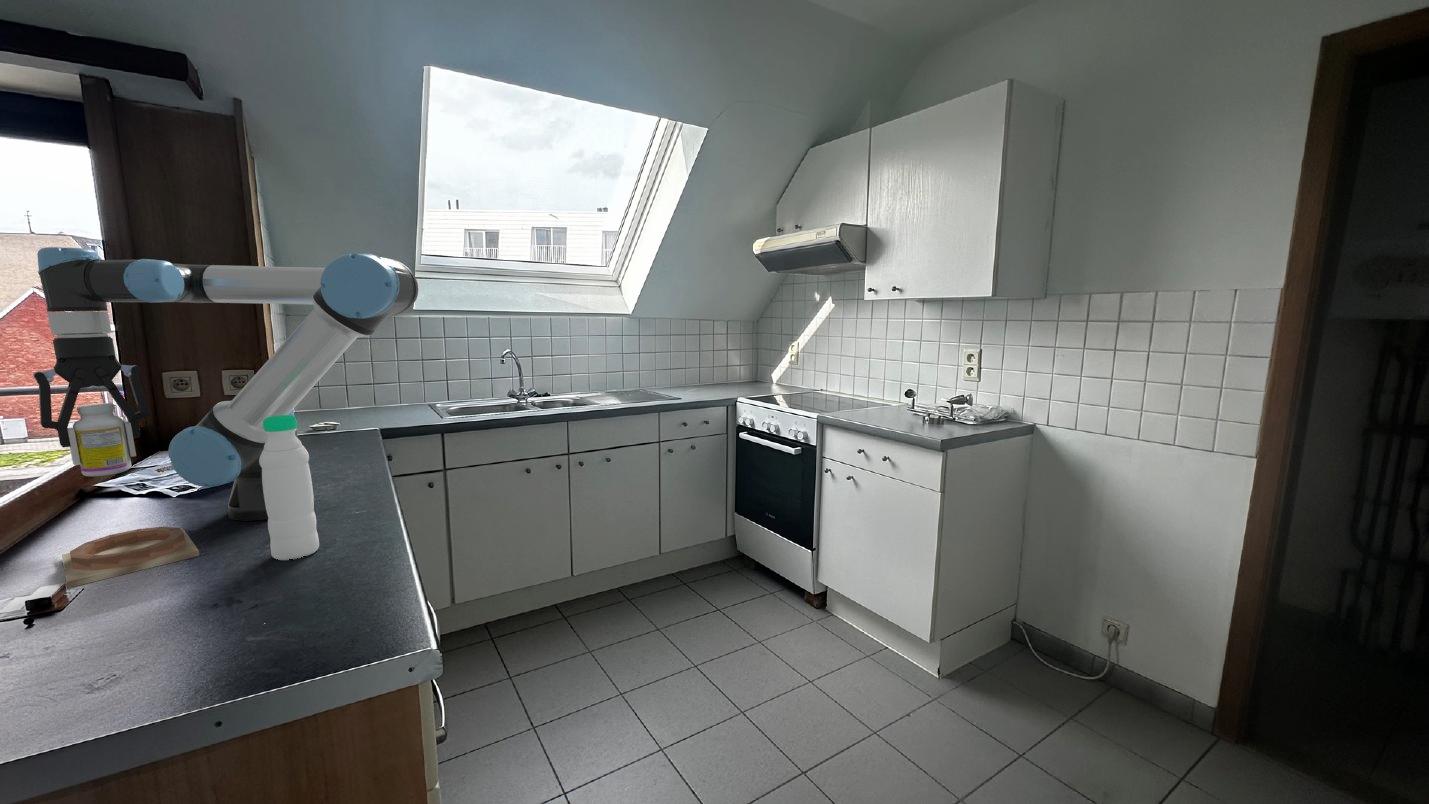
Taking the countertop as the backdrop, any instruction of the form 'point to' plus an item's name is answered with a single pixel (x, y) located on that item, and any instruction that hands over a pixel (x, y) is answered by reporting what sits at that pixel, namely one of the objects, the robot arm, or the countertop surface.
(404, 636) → the countertop surface
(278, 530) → the water bottle
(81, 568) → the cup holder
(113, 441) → the supplement bottle
